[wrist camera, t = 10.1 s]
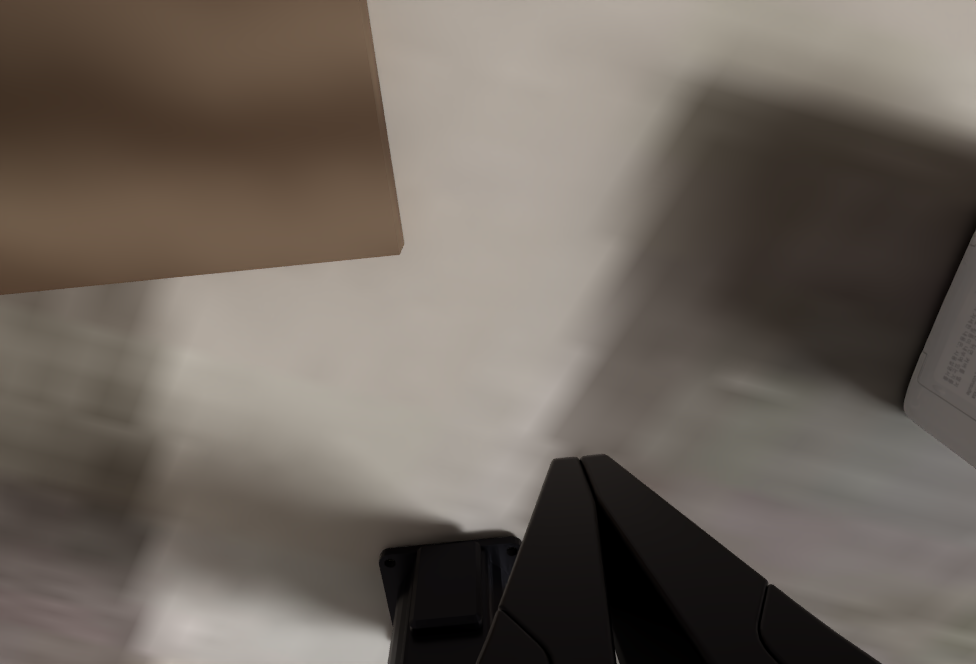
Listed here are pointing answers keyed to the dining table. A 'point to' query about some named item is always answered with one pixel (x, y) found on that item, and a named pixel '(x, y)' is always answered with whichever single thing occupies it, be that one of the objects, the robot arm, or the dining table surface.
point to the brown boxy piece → (188, 139)
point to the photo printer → (950, 368)
